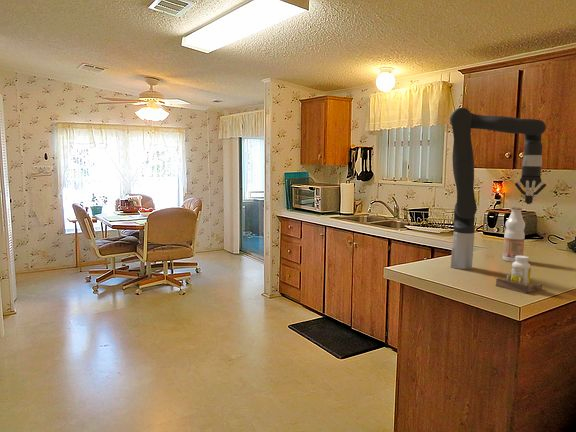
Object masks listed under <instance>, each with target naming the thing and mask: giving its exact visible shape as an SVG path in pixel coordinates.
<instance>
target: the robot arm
mask: <svg viewBox="0 0 576 432" xmlns="http://www.w3.org/2000/svg"><path fill="white" fill-rule="evenodd" d="M449 123H450V126H451V129H452V134H453V144H452V171H453V172H452V173H453V178H454V183H455V186H456V202H455V204H454V212H453V213H454V214H453V235H452V236H453V237H452V247H451V255H450V256H451V258H450V260H451V261H450V268H455V269H458V270H472V269H473V261H474V259H473V257H474V245H475V244H474V243H475V242H474V241H475V229H476V228H475V217H476V214H477V211H478V209H477V208H478V207H477V202H476V196H475V195H476V194H475V190H474V187H475V185H474V184H475V158H474V150H473V144H472V135H471V134H472V129H474V130H487V131H493V132H499V133H500V132H501V133H506V134H513V135H514V134H515V135H516V134H522V135H524V149H523V150H524V151H523V158H522V163H521V165H522V166H521V177H520V178H519V181H517V182H515V183H514V186H515V187H516V189H518V191H519V192H520V193H521V194H522V195H524V202H525V204H526V205H531V204H532V203H533V199H534V196H535V195H539V193H540V192H542V190H544V189H545V187H547V184H546V183H545V182H543V181H542V177H541V175H542V165H543V143H542V134H544V133H545V131H546V129H547V125H546V123H545V122H544V121H543V120H541V119H536V118H518V117H514V116H511V117H510V116H504V115H503V116H501V115H482V114H476V113H473V112H471V111H470V110H469V109H468V108H466V107H458V108H456V109H455V110H453V111H452V113H451V114H450V117H449ZM521 185H522V187H523V188H525V191H524V190H523V188H522V187H521ZM538 186H539V188H537V187H538ZM536 188H537V189H536ZM535 189H536V191H535Z"/></svg>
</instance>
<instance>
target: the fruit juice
mask: <svg viewBox="0 0 576 432" xmlns="http://www.w3.org/2000/svg"><path fill="white" fill-rule="evenodd" d="M522 210H523V208H522V207H519V206H517V207H516V206H513V207H512V206H511V208H510V211H511V212H510V215H509V217H508V219H506V221H505V224H504V225H505V231H504V234H503V236H504V237H503V247H502V261H506V262H510V263H513V262H515V261H516V260H515V256H524V251H525V240H526V239H525V237H526V235H525V229H526V228H525V227H526V222H525V220H524V218H523V214H522Z"/></svg>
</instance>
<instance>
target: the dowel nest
mask: <svg viewBox="0 0 576 432" xmlns="http://www.w3.org/2000/svg"><path fill="white" fill-rule="evenodd" d="M495 280H496V281H495V286H496V287H499V288H503V289H507V290H511V291H514V292H518V293H521V292H522V294H525V293H526V294H529V293H533V292H535V291H541V290H542V288H543V284H542V283H537V284H533V285H526V284H522V283H523V278H519V283H517V282H513V281H511V274H507V275H506V278H501V277H498V278H496V279H495Z"/></svg>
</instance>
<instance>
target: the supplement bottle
mask: <svg viewBox="0 0 576 432" xmlns="http://www.w3.org/2000/svg"><path fill="white" fill-rule="evenodd" d="M529 259H530V257H529V256H526V255H523V256H515V260H516V261H515V262H511V263H512V264H511V274H510V278H511V281H513V282H517V283H519V278H523V283H522V284H526V285H529V286H531V283H530V282H531V271H532V270H531V269H532V266H531V264H530V263H529V261H530V260H529Z"/></svg>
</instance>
